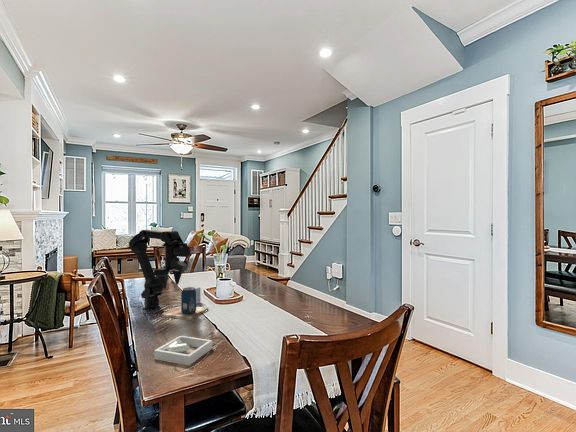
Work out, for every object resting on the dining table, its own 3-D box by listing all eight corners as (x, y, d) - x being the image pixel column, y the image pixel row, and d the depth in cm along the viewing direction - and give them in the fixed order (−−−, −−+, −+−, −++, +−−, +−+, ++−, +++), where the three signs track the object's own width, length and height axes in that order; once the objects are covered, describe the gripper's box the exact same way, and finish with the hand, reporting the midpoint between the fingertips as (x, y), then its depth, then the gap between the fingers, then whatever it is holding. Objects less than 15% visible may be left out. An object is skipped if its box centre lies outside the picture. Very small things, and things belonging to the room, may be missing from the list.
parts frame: (154, 359, 109) (154, 350, 108) (180, 343, 122) (180, 335, 122) (189, 365, 104) (189, 356, 104) (212, 348, 117) (212, 340, 117)
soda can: (186, 310, 159) (186, 286, 159) (198, 311, 157) (198, 287, 157) (178, 314, 152) (178, 289, 152) (191, 316, 150) (191, 290, 150)
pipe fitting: (190, 352, 116) (174, 348, 117) (191, 341, 116) (175, 338, 117) (178, 362, 108) (161, 358, 109) (179, 350, 108) (161, 347, 109)
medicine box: (200, 302, 179) (200, 287, 178) (196, 304, 174) (196, 288, 174) (188, 301, 181) (188, 286, 181) (183, 303, 176) (183, 287, 176)
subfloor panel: (161, 316, 154) (161, 313, 154) (182, 307, 169) (182, 304, 169) (189, 319, 149) (189, 317, 149) (208, 310, 164) (208, 307, 164)
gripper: (172, 259, 149) (172, 292, 149) (195, 254, 166) (195, 283, 167) (153, 257, 152) (152, 290, 152) (177, 253, 170) (177, 282, 170)
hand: (171, 286), depth 160 cm, fingers open, 9 cm apart
